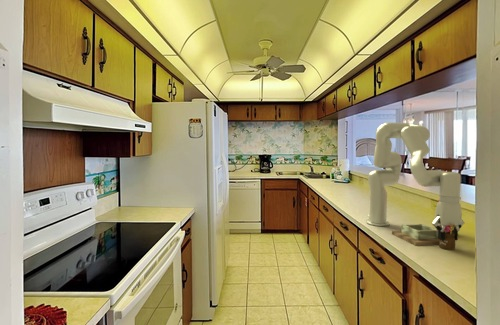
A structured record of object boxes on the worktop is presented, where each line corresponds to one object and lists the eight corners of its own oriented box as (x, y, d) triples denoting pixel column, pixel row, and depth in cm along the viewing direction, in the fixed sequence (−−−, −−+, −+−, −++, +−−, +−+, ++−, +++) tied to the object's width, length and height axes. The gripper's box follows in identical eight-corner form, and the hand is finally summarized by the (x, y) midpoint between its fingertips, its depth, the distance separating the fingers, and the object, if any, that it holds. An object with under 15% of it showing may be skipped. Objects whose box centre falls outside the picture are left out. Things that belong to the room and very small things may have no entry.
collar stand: (391, 233, 156) (392, 223, 155) (423, 232, 158) (423, 222, 158) (415, 245, 138) (415, 233, 138) (450, 243, 140) (450, 232, 140)
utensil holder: (448, 245, 138) (449, 219, 137) (458, 250, 131) (459, 223, 131) (436, 245, 138) (437, 220, 137) (445, 250, 131) (446, 223, 131)
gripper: (459, 197, 138) (457, 236, 139) (425, 198, 136) (424, 237, 137) (473, 200, 131) (471, 241, 132) (438, 201, 128) (436, 243, 129)
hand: (447, 239), depth 134 cm, fingers closed on utensil holder, 5 cm apart
